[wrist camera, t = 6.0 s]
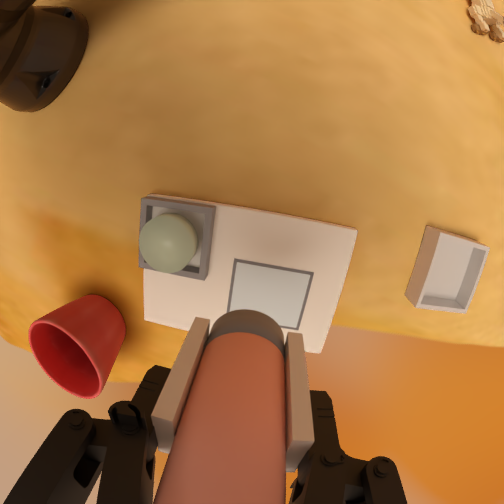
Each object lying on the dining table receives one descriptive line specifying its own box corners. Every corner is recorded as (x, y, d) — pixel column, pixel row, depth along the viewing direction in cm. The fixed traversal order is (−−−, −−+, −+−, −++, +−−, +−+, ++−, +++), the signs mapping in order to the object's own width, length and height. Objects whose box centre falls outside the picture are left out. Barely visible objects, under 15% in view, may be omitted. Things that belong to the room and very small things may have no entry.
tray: (426, 225, 25) (440, 232, 22) (475, 240, 24) (489, 247, 22) (404, 294, 27) (415, 307, 24) (453, 302, 27) (465, 313, 24)
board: (152, 193, 26) (140, 196, 24) (354, 227, 25) (362, 234, 23) (148, 314, 30) (139, 326, 28) (319, 347, 30) (321, 361, 27)
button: (149, 209, 24) (140, 212, 22) (201, 217, 24) (195, 221, 22) (146, 260, 25) (138, 267, 24) (195, 270, 25) (190, 278, 24)
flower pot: (153, 340, 32) (120, 392, 22) (104, 360, 34) (71, 404, 25) (103, 268, 29) (52, 306, 20) (60, 301, 32) (17, 336, 22)
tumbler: (211, 302, 14) (120, 544, 3) (291, 315, 14) (303, 572, 3) (207, 361, 15) (148, 556, 4) (276, 372, 15) (268, 575, 4)
